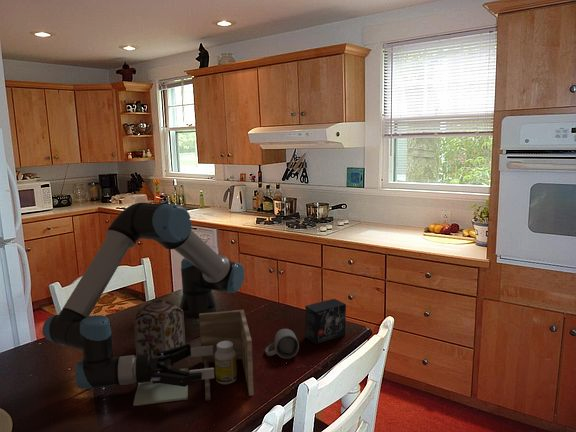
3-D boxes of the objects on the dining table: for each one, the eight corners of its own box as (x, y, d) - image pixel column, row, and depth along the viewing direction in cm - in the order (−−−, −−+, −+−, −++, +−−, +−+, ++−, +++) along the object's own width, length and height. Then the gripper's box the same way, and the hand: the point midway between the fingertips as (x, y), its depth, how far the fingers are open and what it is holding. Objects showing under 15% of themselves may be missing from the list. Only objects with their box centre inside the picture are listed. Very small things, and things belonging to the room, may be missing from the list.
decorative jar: (135, 357, 147) (131, 304, 144) (157, 342, 158) (153, 292, 155) (166, 363, 143) (162, 309, 140) (186, 347, 154) (183, 296, 151)
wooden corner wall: (201, 361, 144) (199, 313, 141) (245, 356, 146) (243, 309, 144) (202, 401, 122) (199, 345, 119) (253, 395, 125) (251, 340, 122)
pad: (140, 375, 136) (140, 373, 136) (188, 370, 139) (188, 368, 139) (133, 405, 121) (133, 403, 120) (187, 399, 123) (187, 397, 123)
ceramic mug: (295, 346, 153) (294, 324, 152) (299, 357, 145) (298, 335, 144) (264, 349, 152) (263, 327, 150) (266, 361, 144) (265, 338, 142)
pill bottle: (228, 371, 137) (227, 337, 135) (241, 379, 133) (240, 343, 131) (211, 379, 133) (209, 344, 131) (224, 387, 129) (222, 351, 127)
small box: (316, 345, 154) (315, 311, 152) (304, 338, 159) (304, 305, 157) (346, 335, 161) (346, 303, 159) (334, 329, 166) (334, 297, 164)
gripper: (143, 360, 140) (213, 353, 143) (130, 406, 115) (215, 396, 119) (141, 337, 138) (211, 330, 142) (128, 379, 114) (214, 370, 118)
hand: (213, 360), depth 131 cm, fingers open, 13 cm apart
